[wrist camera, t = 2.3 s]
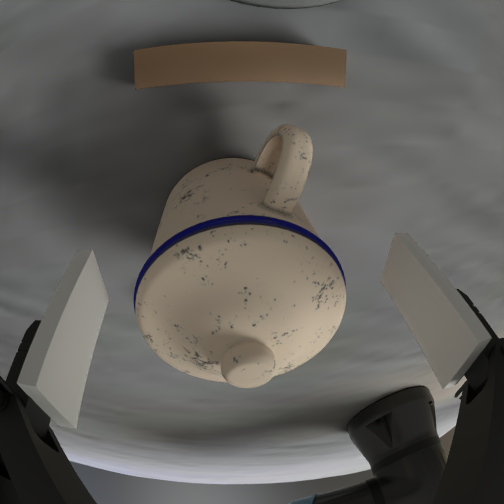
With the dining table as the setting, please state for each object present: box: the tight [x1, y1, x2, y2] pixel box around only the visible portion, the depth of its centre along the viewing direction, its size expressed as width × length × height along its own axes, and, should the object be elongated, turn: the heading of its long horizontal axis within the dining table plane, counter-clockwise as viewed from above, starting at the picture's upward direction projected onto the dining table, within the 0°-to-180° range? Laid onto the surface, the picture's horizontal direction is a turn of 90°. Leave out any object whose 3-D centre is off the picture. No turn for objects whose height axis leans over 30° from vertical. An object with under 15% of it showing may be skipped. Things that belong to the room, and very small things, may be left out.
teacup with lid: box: [134, 124, 346, 388], centre depth 14 cm, size 12×9×12 cm
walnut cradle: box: [134, 41, 347, 90], centre depth 18 cm, size 19×10×3 cm, turn 179°
